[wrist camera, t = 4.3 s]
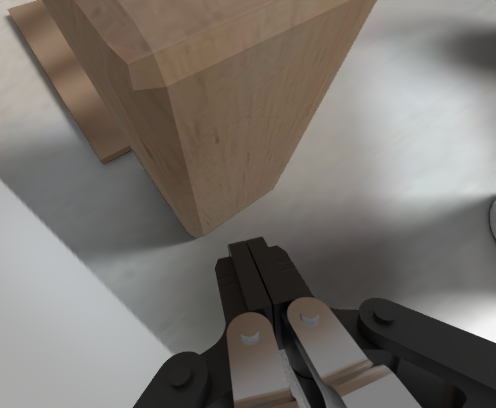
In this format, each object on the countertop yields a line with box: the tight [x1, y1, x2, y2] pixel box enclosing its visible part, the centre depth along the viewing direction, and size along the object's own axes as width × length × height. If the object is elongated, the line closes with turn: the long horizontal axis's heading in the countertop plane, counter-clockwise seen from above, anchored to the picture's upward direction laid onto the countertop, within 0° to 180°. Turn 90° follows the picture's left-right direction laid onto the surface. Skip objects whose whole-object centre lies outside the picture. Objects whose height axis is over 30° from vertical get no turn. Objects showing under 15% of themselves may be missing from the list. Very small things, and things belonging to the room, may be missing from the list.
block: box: [42, 0, 377, 238], centre depth 17 cm, size 10×10×20 cm
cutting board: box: [7, 0, 132, 164], centre depth 29 cm, size 22×16×1 cm
